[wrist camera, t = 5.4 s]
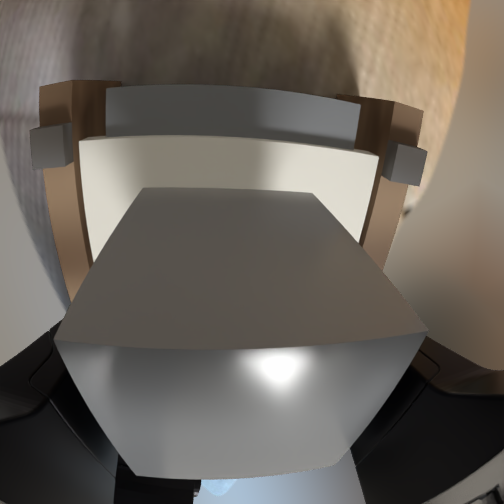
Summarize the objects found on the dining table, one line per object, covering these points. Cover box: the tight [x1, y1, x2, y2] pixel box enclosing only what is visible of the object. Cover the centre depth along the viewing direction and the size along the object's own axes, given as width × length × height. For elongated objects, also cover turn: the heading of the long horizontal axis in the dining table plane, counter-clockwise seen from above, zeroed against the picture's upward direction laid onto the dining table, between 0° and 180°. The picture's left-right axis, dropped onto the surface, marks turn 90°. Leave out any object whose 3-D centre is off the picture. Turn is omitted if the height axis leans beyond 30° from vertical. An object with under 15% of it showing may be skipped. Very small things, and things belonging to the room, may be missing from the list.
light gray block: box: [53, 187, 429, 479], centre depth 7 cm, size 5×5×6 cm
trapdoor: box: [79, 84, 379, 261], centre depth 14 cm, size 14×12×2 cm
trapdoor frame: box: [30, 80, 427, 303], centre depth 15 cm, size 15×16×7 cm
